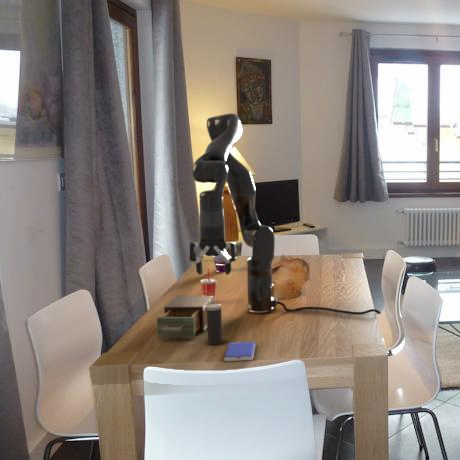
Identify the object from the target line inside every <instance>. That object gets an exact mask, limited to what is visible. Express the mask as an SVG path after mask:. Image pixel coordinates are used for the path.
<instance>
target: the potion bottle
mask: <svg viewBox="0 0 460 460" xmlns="http://www.w3.org/2000/svg"><path fill="white" fill-rule="evenodd" d="M224 250H225V251H226V252H227V247H226V248H225V249H224ZM228 255H229V254H228ZM229 257H230V258H231V255H229ZM212 260H213V264H214V266H215V269H216V270H215V271H216V272H218V273H226V261H225V260H224V259H223V258H222V257H221V256H220V255H218V256H213V255H212Z"/></svg>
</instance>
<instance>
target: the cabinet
mask: <svg viewBox="0 0 460 460" xmlns="http://www.w3.org/2000/svg"><path fill="white" fill-rule="evenodd" d="M209 304H215V303H214V296H203V295H197V294H196V295H195V294H193V295H188V294H187V295H185V294H183V295H180V294H179V295H176V296H175V297H174V298H172V300H171V301H169V302H168V303H167V304H166V305H165V306H164V308H163V310H164V311H163V312H164V314H165V313H166V312H168V311H169V310H200V315H201V327H200V328H199V329H198V331H197V332H196V333H204V332H205V331H206V330H207V305H209Z"/></svg>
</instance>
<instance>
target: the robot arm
mask: <svg viewBox="0 0 460 460" xmlns="http://www.w3.org/2000/svg"><path fill="white" fill-rule="evenodd" d="M206 130H207V133H208V136H209V139H210V141H211V142H210V143H208V145H207V147H206V149H205V151H204V153H203V154H202V155H201V156H199V157H198V158H197V159H196V160H195V161H194V162H193V165H192V166H191V176H192V179H193V180H194V181H195V182H197V183H199V184H215V186H214V188H211V189H207V190H204V191H201V192H199V196H198V197H199V216H198V218H199V239H200V240H199V242H198V241H197V242H196V241H195V240H193V241H191V242H190V243H189V261H190V262H194V263H195V269H196V270H195V271H196V274H198V275H199V276H200V275H202V274H203V261H202V260H204V258H205V257H206V256H207V257H213V256H218V255H220V256H221V257H222V258H223V259H224V260H225V261H226V271H225V275H226V276H227V275H230V273H232V263H233V262H235V261H237V259H238V253H237V252H238V251H237V243H236V241H232V242H231V241H230V242H227V240H226V219H225V212H224V190H225V187H226V186H227V189H228V192H229V195H230V198H231V200H232V203H233V207H234V210H235V213H236V215H237V219H238V224H239V228H240V229H239V230H240V233H241V237H242V240H243V242H244V244H245V245H246V246H248V247H249V248H252V250H251V251H252V253H251V257H249V258H248V259H247V260H246V276H247V277H246V281H247V282H246V284H247V286H246V287H247V303H246V308H247V312H248V313H250V314H259V315H260V314H267V313H272V312H273V311H274V308H277V306H278V305H280V306H282V307H283V310H284V311H285V312H299V311H303V310H317V311H319V310H320V311H328V312H335V313H341V314H347V315H357V316H359V315H366V314H368V313H372V312H373V313H377V314H379V315H381V314H382V312H381V311H379V310H378V309H376V308H371V309H367V310H364V311H350V310H344V309H336V308H331V307H324V306H301V307H297V308H293V309H291V308H287V305H286V304H285V303H284V302H282V301H280V300H279V297H278V296H275V295H274V293H275V289H274V284H273V261H274V258H275V246H276V245H275V244H276V243H275V239H276V238H275V233H274V231H273V229H272V228H271V227H270V226H268V225H264V224H261V223H260V221H259V218H258V215H257V211H256V195H257V194H256V185H255V183H254V179H253V176H252V173H251V171H250V170H249V169H248V167H246V166H245V165H244V164H243V163H242V162H240V160H238V159H237V158H236V157H235V156H234V155H233V154H232V153H231V150H232V149H233V147H234V146H235V145H236V144H237V142H238V141H239V140H240V138H241V137H242V134H243V126H242V122H241V119H240V117H239V116H238V115H237V114H236V113H224V114H220V115H215V116H210V117H208V118H207V119H206ZM225 185H226V186H225ZM227 247H228V249H229V250H230V254H231V255H230V257H229V254H228V252H227V250H226V251H225V250H224V249H225V248H226V249H227ZM198 248H200V250H201V252H200V254H199V255H198V257H197V256H196V255H197V254H196V251H197V249H198Z"/></svg>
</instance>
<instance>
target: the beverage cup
mask: <svg viewBox="0 0 460 460" xmlns="http://www.w3.org/2000/svg"><path fill="white" fill-rule="evenodd" d="M217 282H218V280H217V279H216V278H210V268H209V267H207V278H202V279H200V284H201V285H200V286H201V294H202V295H201V296H214V304H216V300H217V299H216V297H217V296H216V295H217Z"/></svg>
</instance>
